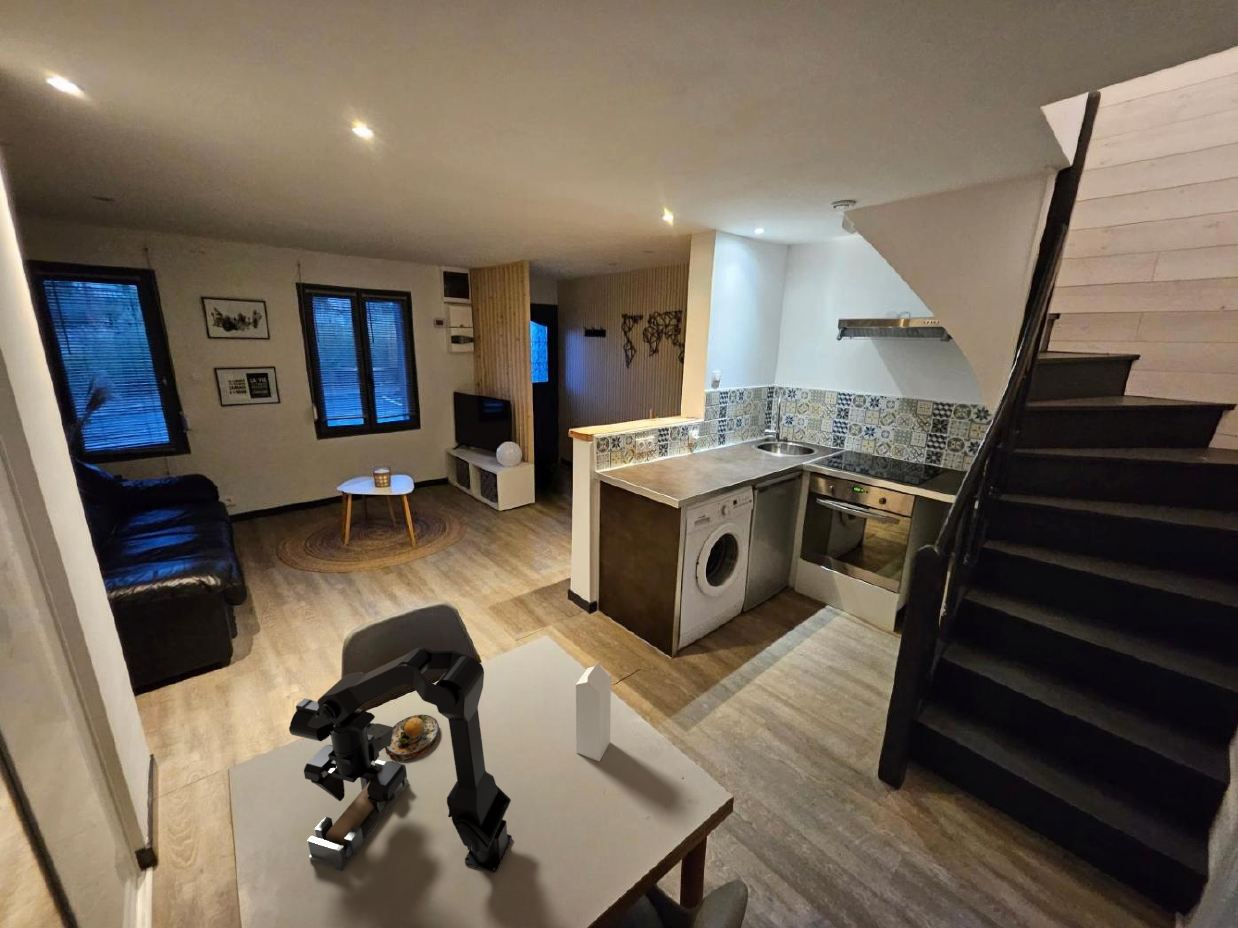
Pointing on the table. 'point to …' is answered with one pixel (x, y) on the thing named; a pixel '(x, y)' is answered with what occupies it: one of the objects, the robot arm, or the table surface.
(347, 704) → the robot arm
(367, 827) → the cradle
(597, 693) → the milk
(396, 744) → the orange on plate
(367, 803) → the cylinder
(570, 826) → the table surface
